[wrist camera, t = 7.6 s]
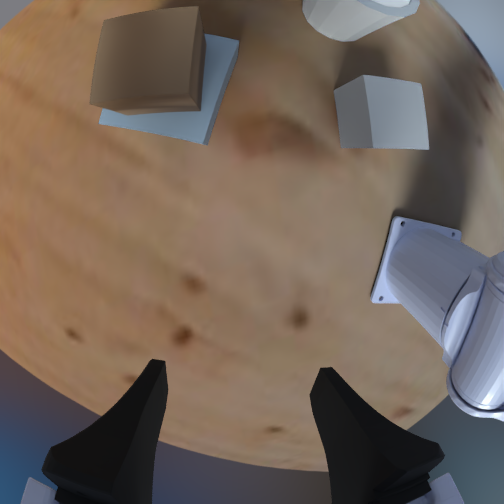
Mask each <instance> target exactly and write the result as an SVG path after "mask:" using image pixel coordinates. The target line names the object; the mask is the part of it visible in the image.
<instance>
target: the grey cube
mask: <svg viewBox="0 0 504 504" xmlns="http://www.w3.org/2000/svg"><path fill="white" fill-rule="evenodd" d="M334 96H335V103H336V110H337V118H338V126H339V135H340V144H341V148H396V149H423V150H429V141H428V129H427V120H426V112H425V104H424V98H423V92H422V86H421V84H419V83H415V82H410V81H404V80H398V79H392V78H386V77H378V76H370V75H362V76H360V77H358V78H356V79H354V80H352V81H350V82H348V83H346V84H344V85H343V86H341V87H339V88H337V89H335V90H334Z"/></svg>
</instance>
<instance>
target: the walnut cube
mask: <svg viewBox="0 0 504 504" xmlns="http://www.w3.org/2000/svg"><path fill="white" fill-rule="evenodd" d="M206 46H207V44H206V39H205V34H204V30H203V25H202V20H201V15H200V10H199V6H190V7H177V8H167V9H159V10H152V11H145V12H139V13H134V14H129V15H124V16H119V17H115V18H111V19H107V20H104V22H103V26H102V30H101V34H100V39H99V44H98V49H97V54H96V59H95V65H94V71H93V78H92V86H91V95H90V104H91V105H94V106H98V107H101V108H105V109H108V110H111V111H115V112H118V113H121V114H124V115H127V116H129V115H139V114H151V113H165V112H191V111H201V102H202V88H203V76H204V65H205V55H206Z"/></svg>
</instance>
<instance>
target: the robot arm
mask: <svg viewBox="0 0 504 504" xmlns="http://www.w3.org/2000/svg"><path fill="white" fill-rule="evenodd" d="M402 221H403V224H402V225H401V222H402ZM461 235H462V234H461V231H459V230H456V229H452V228H448V227H444V226H440V225H436V224H432V223H427V222H423V221H418V220H414V219H409V218H405V217H400V216H395V217H394V218H393V220H392V223H391V227H390V231H389V235H388V239H387V243H386V247H385V251H384V254H383V258H382V262H381V265H380V268H379V272H378V275H377V278H376V282H375V285H374V288H373V291H372V294H371V298H370V299H371V301H372V302H373V303H401V304H402V305H403V306H404V307H405V308H406V309H407V310H408V311H409V312H410V313H411V314H412V315H413V317H414V318H415V319H416V320H417V321H418V322H419V323H420V324H421V325H422V326H423V327H424V328H425V329H426V330H427V331H428V332H429V334H430V335H431V336H432V337H433V338H434V339H435V340H436V341H437V342H438V343H439V345H440V346H441V347H442V348H443V350H444V354H443V357H442V360H443V361H444V362H445V363H446V364H447V366H448V367H449V368H450V369H449V371H448V374H447V379H446V384H447V389H448V393H449V395H450V397H451V398H452V400H453V401H454V403H455V404H456V405H457V406H458V407H459V408H460V409H461V410H463V411H464V412H466V413H468V414H470V415H472V416H476V417H485V418H487V417H489V418H490V417H491V418H496V419H499V420H501V421H503V422H504V251H503V252H500V253H498V254H497V255H494V256H492V257H491V258H489V257H487V256H485V255H483V254H482V253H480V252H478V251H476V250H475V249H473V248H471V247H469V246H467V245H465V244H463V243H462V242H460V239H461ZM381 296H382V297H381ZM379 297H381V298H380V299H379ZM167 395H168V383H167V374H166V364H165V361H162V360H155V359H152V360H150V361H149V363H148V365H147V366H146V367H145V369H144V370H143V372H142V373H141V374H140V376H139V377H138V378H137V380H136V381H135V382H134V384H133V385H132V386H131V387H130V388H129V390H128V391H127V392H126V393H125V394H124V395H123V396H122V397H121V399H120V400H119V401H118V402H117V403H116V404H115V405H114V406H113V407H112V408H111V409H110V410H109V411H107V412H106V413H105V414H104V415H103V416H102V417H100V418H99V419H98V420H97V421H95V422H94V423H93V424H92V425H90V426H89V427H88V428H86V429H84V430H83V431H81V432H79V433H78V434H76V435H75V436H73V437H71V438H69V439H67V440H65V441H63V442H61V443H59V444H57V445H55V446H53V447H51V448H50V450H49V452H48V454H47V456H46V458H45V461H44V464H43V467H42V472H43V474H44V475H45V476H46V477H47V478H48V479H50V480H51V481H52V482H53V483H54V484H56V485H57V486H58V489H57V491H55V490H54V489H52V488H50V487H48V486H46V485H44V484H42V483H40V482H38V481H36V480H34V479H33V478H31V477H30V478H29V479H28V482H27V485H26V488H25V491H24V494H23V497H22V501H21V504H152V485H153V484H152V483H153V471H154V460H155V451H156V446H157V442H158V438H159V433H160V429H161V425H162V421H163V417H164V413H165V409H166V403H167ZM310 400H311V406H312V412H313V415H314V419H315V422H316V425H317V428H318V431H319V434H320V437H321V440H322V443H323V446H324V450H325V454H326V459H327V464H328V470H329V477H330V484H331V495H332V504H464V501H463V499H462V497H461V495H460V493H459V491H458V489H457V487H456V485H455V483H454V481H453V480H452V477H451V475H450V474H449V473H447V474H445V475H443V476H441V477H439V478H437V479H435V480H434V481H432V482H430V483H428V481H427V480H428V479H429V478H430V476H429V474H428V472H430V471H431V470H432V469H433V468H434V467H435V466H437V465H438V464H439V463H440V462H441V461H442V460H443V459H444V456H445V455H444V453H443V451H442V449H441V448H440V446H439V444H438V443H436V442H432V441H429V440H427V439H424V438H421V437H419V436H417V435H414V434H412V433H410V432H408V431H406V430H404V429H402V428H401V427H399V426H397V425H396V424H394V423H392V422H391V421H389V420H388V419H386V418H385V417H384V416H382V415H381V414H380V413H378V412H377V411H376V410H374V409H373V408H372V407H371V406H370V405H369V404H368V403H366V402H365V401H364V400H363V399H362V398H361V397H360V396H359V395H358V394H357V393H356V392H355V391H354V390H353V389H352V388H351V387H350V386H349V385H348V384H347V383H346V382H345V381H344V380H343V378H342V377H341V376H340V375H339V374H338V373H337V372H336V371H335V370H334V369H333V368H332V367H328V368H320V370H319V373H318V375H317V378H316V380H315V383H314V385H313V388H312V390H311V393H310Z"/></svg>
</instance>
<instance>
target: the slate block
mask: <svg viewBox="0 0 504 504" xmlns="http://www.w3.org/2000/svg"><path fill="white" fill-rule="evenodd" d="M205 39H206V44H207V46H206V55H205V65H204V76H203V88H202V102H201V111H191V112H165V113H151V114H139V115H129V116H127V115H124V114H121V113H118V112H115V111H111V110H108V109H105V108H103V110H102V113H101V117H100V120H99V124H103V125H109V126H114V127H120V128H126V129H132V130H138V131H143V132H149V133H154V134H159V135H164V136H169V137H173V138H178V139H182V140H187V141H191V142H195V143H199V144H203V145H207V146H208V142H209V139H210V136H211V133H212V129H213V126H214V123H215V120H216V117H217V114H218V111H219V108H220V105H221V102H222V99H223V96H224V93H225V90H226V87H227V85H228V82H229V79H230V76H231V74H232V71H233V68H234V66H235V63H236V60H237V58H238V48H239V41H238V40H234V39H230V38H225V37H220V36H215V35H210V34H205Z"/></svg>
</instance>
